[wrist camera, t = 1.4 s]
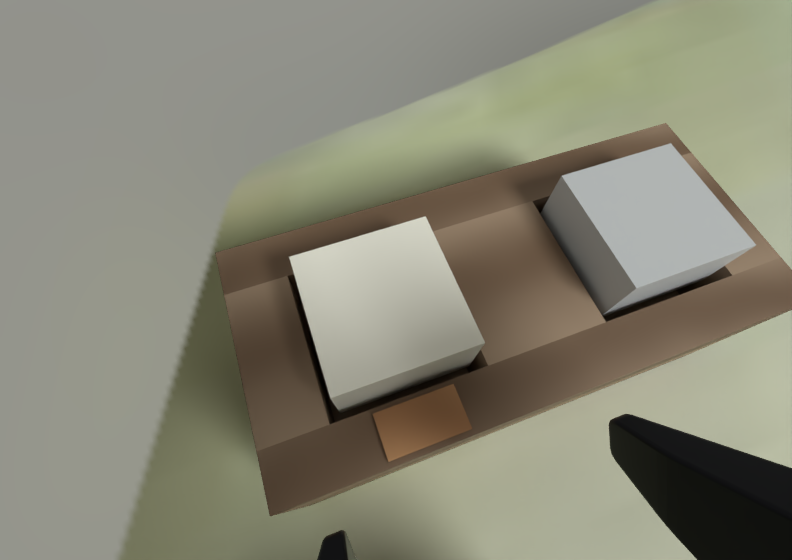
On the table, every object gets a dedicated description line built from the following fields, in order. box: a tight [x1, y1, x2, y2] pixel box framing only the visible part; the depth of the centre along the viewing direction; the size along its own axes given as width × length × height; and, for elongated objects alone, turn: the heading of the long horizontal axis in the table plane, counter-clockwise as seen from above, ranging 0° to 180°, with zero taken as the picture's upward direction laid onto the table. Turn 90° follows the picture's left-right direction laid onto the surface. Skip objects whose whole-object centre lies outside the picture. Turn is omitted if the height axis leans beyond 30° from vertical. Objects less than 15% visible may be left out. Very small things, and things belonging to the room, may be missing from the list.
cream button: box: [289, 216, 485, 413], centre depth 16 cm, size 5×5×3 cm
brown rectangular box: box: [215, 123, 792, 516], centre depth 21 cm, size 10×22×8 cm, turn 110°
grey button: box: [540, 143, 756, 317], centre depth 18 cm, size 5×5×3 cm
